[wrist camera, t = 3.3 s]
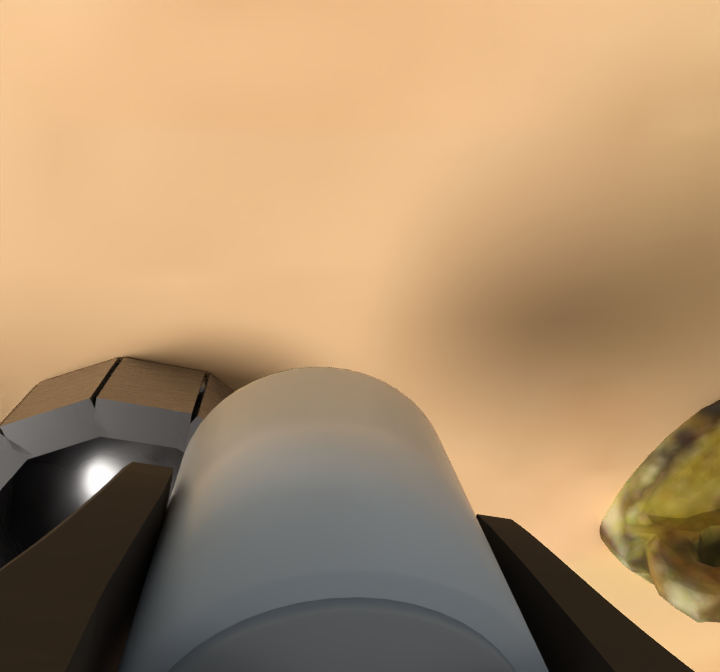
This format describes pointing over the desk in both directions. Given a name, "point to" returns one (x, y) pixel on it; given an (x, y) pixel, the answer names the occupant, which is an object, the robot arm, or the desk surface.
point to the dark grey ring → (93, 438)
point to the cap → (323, 543)
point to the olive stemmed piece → (675, 518)
